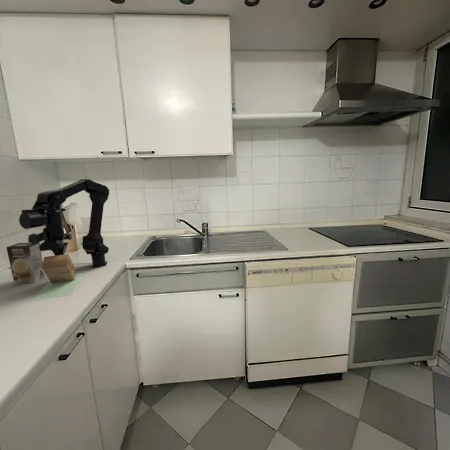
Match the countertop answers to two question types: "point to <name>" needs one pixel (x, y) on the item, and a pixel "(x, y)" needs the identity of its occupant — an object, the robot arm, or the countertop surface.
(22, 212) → the robot arm
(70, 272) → the walnut block
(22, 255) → the coffee box
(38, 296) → the mat
